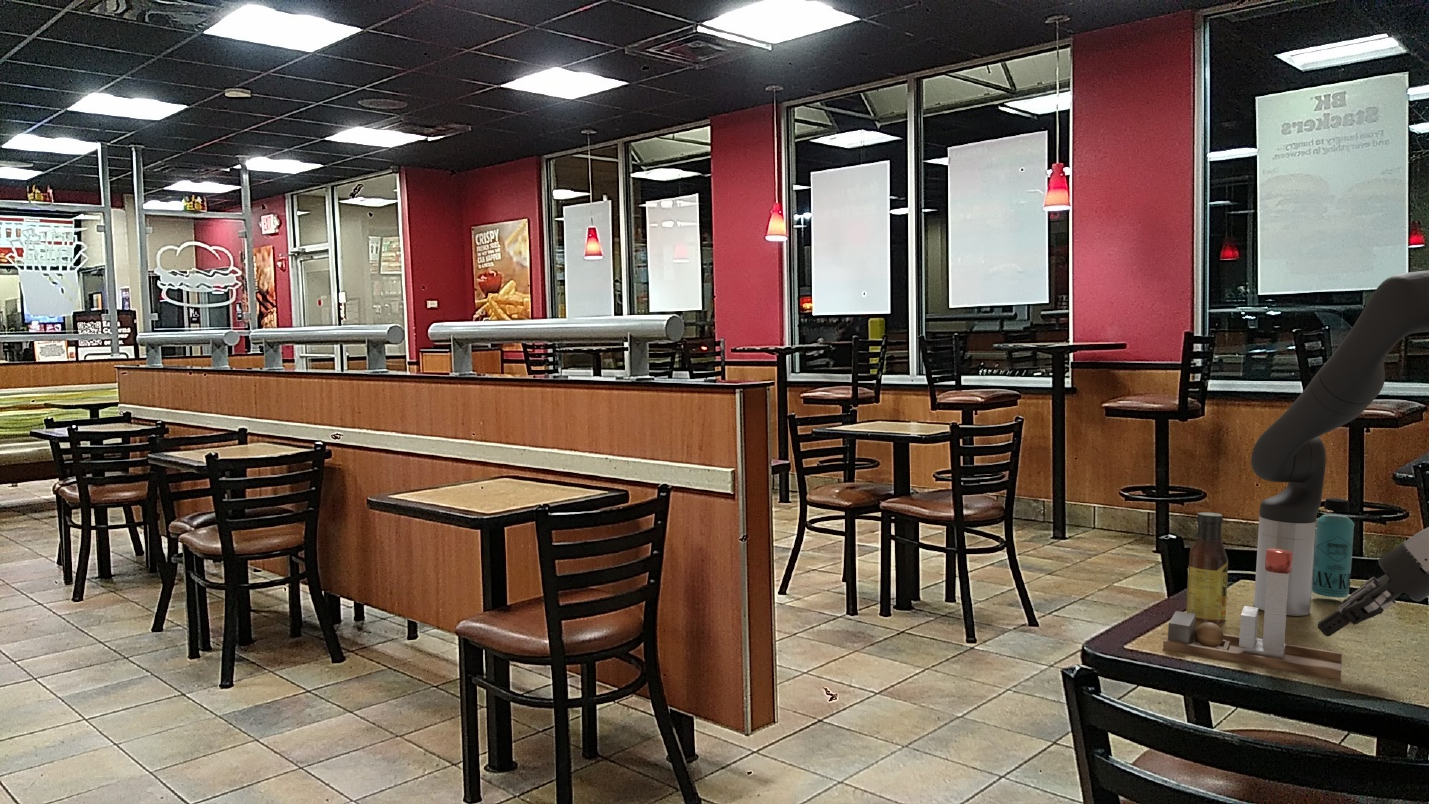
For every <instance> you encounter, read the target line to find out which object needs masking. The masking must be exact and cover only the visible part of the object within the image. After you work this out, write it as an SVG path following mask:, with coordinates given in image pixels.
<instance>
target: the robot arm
mask: <svg viewBox="0 0 1429 804" xmlns="http://www.w3.org/2000/svg"><path fill="white" fill-rule="evenodd" d="M1377 286H1378V287H1377V288H1376V289H1375V291H1374V292H1373V293H1372V294H1371V296H1370V298H1369V300H1368V301H1367V303H1366V304H1365V307H1364V308H1363V309H1362V312H1361V313H1360V315H1359V316H1358V318H1357V320H1356V321H1355V323H1354V325H1353V326H1352V328H1351V329H1350V331H1349V332H1348V334H1347V335H1346V336H1345V337H1344V339H1343V340H1342V341H1341V343H1340V344H1339V345H1338V347H1337V348H1336V350H1335V351H1334V352H1333V354H1332V355H1331V356H1330V357H1329V358H1328V359H1327V361H1325V363H1324V364H1323V365H1322V366H1321V367H1320V369H1319V370H1318V371H1317V372H1316V374H1315V375H1314V376H1313V378H1312V379H1311V381H1309V383H1308V384H1307V386H1306V387H1305V388H1304V390H1303V391H1302V392H1301V393H1300V395H1299V396H1298V397H1297V398H1296V399H1295V401H1294V402H1293V403H1292V404H1291V405H1290V406H1289V408H1288V409H1287V410H1286V411H1285V412H1284V413H1283V414H1282V415H1281V416H1279V417H1278V419H1277V420H1275V421H1274V422H1273V423H1272V424H1271V425H1270V426H1269V427H1268V428H1267V429H1266V430H1265V431H1264V432H1263V433H1261V435H1260V436H1259V438H1257V440H1256V442H1255V444H1254V446H1253V448H1252V452H1251V458H1250V462H1251V463H1250V464H1251V468H1252V471H1253V472H1254V474H1255V475H1256V476H1257V477H1258V478H1259V479H1261V480H1264V481H1267V482H1274V483H1287V486H1286V487H1285V489H1283V490H1282V491H1280V492H1279V493H1277V494H1276V495H1274V496H1271V497H1268V498H1266V499H1263V500H1262V501H1261V502H1260V505H1259V513H1258V514H1259V515H1258V516H1259V518H1258V536H1257V551H1256V564H1255V565H1256V568H1255V582H1254V585H1255V586H1254V596H1253V597H1254V598H1253V599H1254V600H1253V607H1256V608H1258V610H1261V611H1262V612H1263V611H1264V612H1265V598H1266V581H1267V570H1265V558H1266V549H1282V550H1287V551H1291V552H1293V558H1292V572H1291V573H1289V579H1288V594H1287V610H1286V616H1293V617H1294V616H1295V617H1296V616H1297V617H1298V616H1307V615H1310V614H1311V607H1312V606H1311V605H1312V604H1311V603H1312V593H1313V592H1312V581H1313V566H1314V551H1315V539H1316V528H1317V519H1318V518H1317V516H1318V512H1319V509H1320V507H1321V504H1322V499H1323V489H1324V481H1325V473H1326V467H1327V465H1326V464H1327V456H1326V455H1327V453H1326V448H1325V444H1324V441H1322V439H1321V436H1323V435H1324V434H1327V433H1329V432H1332V431H1333V430H1334V431H1335V430H1336V429H1339V428H1340V427H1342V426H1344V425H1346V424H1348V423H1350V422H1352V421H1353V420H1355V419H1357V418H1358V417H1359V416H1360V415H1361V414H1362V413H1364V411H1365V410H1366V409H1367V408H1368V407H1370V405H1371V404H1372V403H1373V401H1374V400H1375V399H1376V398H1377V397H1378V395H1379V394H1380V393H1381V391H1382V389H1383V388H1384V385H1385V379H1386V371H1385V363H1384V361H1385V358H1386V357H1387V355H1388V354H1389V353H1390V352H1391V350H1392V349H1393V348H1394V347H1395V346H1396V345H1397V344H1398V343H1399V342H1400V341H1401V340H1402V339H1404V338H1406V337H1407V336H1409V335H1411V334H1418V333H1420V334H1421V333H1425V332H1426V333H1427V332H1429V269H1428V270H1420V271H1419V270H1418V271H1411V272H1404V273H1403V272H1401V273H1397V274H1394V275H1392V276H1390V277H1388V278H1386V279H1385V280H1383V281H1382V282H1381V283H1380V284H1379V285H1377ZM1377 563H1378V565H1379V566H1380V568H1381V571H1383V573H1385V574H1384V575H1382V576H1379V577H1377V578H1376V576H1372V577H1370V578H1369V579H1368V580H1366V581H1364V583H1363V584H1362V585H1361V586H1360V587H1358V588H1357V589H1356V590H1355V591H1353V592H1352V593H1351V594H1350V595H1348V596H1347V597H1346V598H1345V599H1343V600H1342V602H1341V604H1339V605H1338V607H1337V609H1336V610H1335V611H1333V612H1331V613H1330V614H1328V615H1327V616H1325V617H1324V618H1322V619H1321V620H1320V621H1318V622H1317V629H1318V630H1319V631H1320V632H1321V633H1322V634H1323V635H1324V637H1327V638H1328V637H1331V636H1332V635H1334V634H1336V633H1337V632H1339V631H1340V630H1341V629H1343V628H1344V627H1346V626H1348V625H1353V626H1355V625H1358V624H1360V623H1361V622H1362V623H1363V622H1364V621H1367V620H1369V619H1370V618H1374V617H1376V616H1378V615H1381V614H1383V612H1384V611H1385V610H1386V609H1389V608H1390V607H1392V606H1394V605H1395V604H1396V598H1398V597H1399V596H1400V595H1401V594H1405V595H1406V596H1408V597H1409V598H1410V599H1411V600H1413V601H1415V602H1421V601H1423V600H1424V599H1426V598H1428V597H1429V526H1428V527H1426V528H1424V529H1422V530H1420V531H1419V532H1417V533H1415V534H1414V535H1412V536H1411V537H1410V538H1408V539H1407V540H1405V541H1403V542H1402V543H1401V544H1399V545H1398V546H1396V547H1394V548H1393V549H1391V550H1390V551H1389V552H1387V553H1386V554H1384V555H1383V556H1381V557H1380V558H1379V559H1378V561H1377Z"/></svg>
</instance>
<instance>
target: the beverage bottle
mask: <svg viewBox="0 0 1429 804" xmlns="http://www.w3.org/2000/svg"><path fill="white" fill-rule="evenodd" d="M1324 501H1325V502H1324V505H1323V509H1325V510H1326V511H1327V510H1328V511H1331V512H1332V511H1333V512H1341V513H1342V512H1350V501H1349V500H1348V499H1345V498H1338V497H1328V498H1327V497H1326V498H1325V500H1324ZM1355 526H1356V525H1355V522H1354V521H1353V520H1352V519H1351V518H1350V517H1348V516H1344V515H1339V514H1322V515H1321V516H1320V517H1318V518H1317V519H1316V534H1315V551H1314V566H1313V581H1312V593H1314V594H1315V595H1319V596H1323V597H1328V598H1348V597H1349V594H1350V592H1351V591H1350V590H1351V574H1352V573H1353V572H1351V571H1352V568H1353V567H1352V564H1353V552H1354V549H1353V545H1354V543H1353V542H1354V532H1355V531H1354V529H1355V528H1354V527H1355Z"/></svg>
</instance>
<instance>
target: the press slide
mask: <svg viewBox="0 0 1429 804" xmlns="http://www.w3.org/2000/svg"><path fill="white" fill-rule="evenodd" d="M1292 558H1293V552H1291V551H1287V550H1282V549H1266V558H1265V570H1267V581H1266V598H1265V611H1264V617H1263V630H1262V631H1263V634H1262V638H1259V637H1257V636H1258V623H1259V622H1258V621H1259V619H1258V618H1259V609H1258V608H1256V607H1255V606H1248V605H1244V606H1243V608H1242V611H1241V613H1240V619H1239V620H1240V623H1239V625H1240V626H1239V636H1240V637H1239V647H1245V648H1246V654H1252V655H1258V656H1264V657H1269V658H1275V659H1281V660H1284V655H1285V645H1286V644H1287V643H1286V642H1285V637H1286V624H1287V623H1286V622H1287V615H1286V610H1287V594H1288V579H1289V573H1291V572H1292Z"/></svg>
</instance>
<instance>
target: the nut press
mask: <svg viewBox="0 0 1429 804" xmlns="http://www.w3.org/2000/svg"><path fill="white" fill-rule="evenodd" d="M1196 621H1197V620H1196V614H1193V613H1187V611H1180V610H1179V611H1178V610H1175V612H1174V614H1173V615H1172V617H1171V619H1170V620H1169V622H1168V626H1167V627H1168V629H1167V639H1163V645H1162V649H1163V650H1167V651H1172V652H1178V653H1179V652H1180V653H1185V654H1190V655H1197V656H1201V657H1207V658H1212V659H1213V658H1214V659H1218V660H1219V659H1220V660H1225V661H1230V662H1237V663H1243V664H1247V665H1254V666H1261V667H1266V668H1272V669H1277V670H1283V671H1289V672H1294V673H1299V674H1306V675H1310V676H1317V677H1323V678H1328V679H1335V680H1339V681H1341V680H1342V679H1341V678H1342V677H1341V676H1342V658H1343V657H1342V656H1343V655H1342V654H1343V652H1339V651H1334V650H1333V651H1332V650H1325V649H1321V648H1315V647H1308V646H1302V645H1295V644H1289V643H1286V645H1285V655H1284V660H1281V659H1275V658H1269V657H1264V656H1258V655H1252V654H1246V648H1245V647H1239V637H1240V635H1239V636H1238V635H1234V634H1233V635H1232V634H1227V633H1223V635H1224V638H1223V641H1222V643H1221V644H1220V645H1219V646H1217V647H1210V646H1204V645H1201V644H1200V643H1199V642H1198V640H1197V638H1196V630H1197V628H1196Z"/></svg>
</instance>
